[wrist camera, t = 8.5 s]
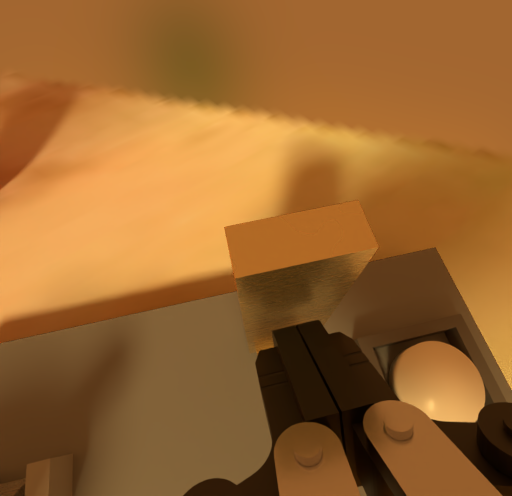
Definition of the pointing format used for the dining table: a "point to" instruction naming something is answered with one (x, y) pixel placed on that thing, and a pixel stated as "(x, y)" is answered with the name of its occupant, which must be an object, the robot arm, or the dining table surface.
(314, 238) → the block
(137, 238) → the dining table surface
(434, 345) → the push button
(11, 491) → the toggle lever
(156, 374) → the switch panel
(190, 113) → the dining table surface
